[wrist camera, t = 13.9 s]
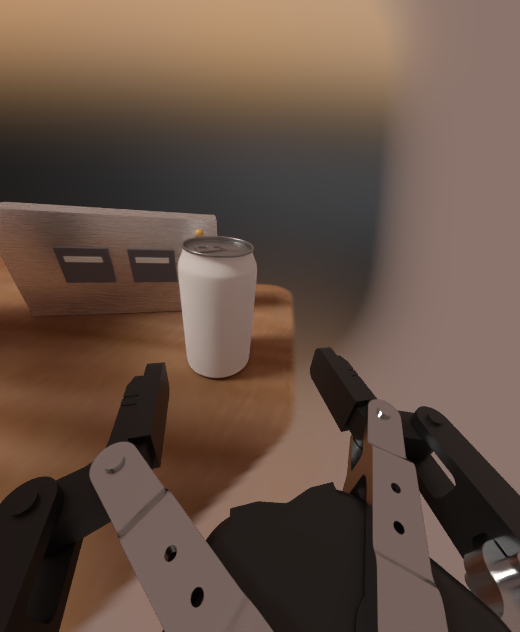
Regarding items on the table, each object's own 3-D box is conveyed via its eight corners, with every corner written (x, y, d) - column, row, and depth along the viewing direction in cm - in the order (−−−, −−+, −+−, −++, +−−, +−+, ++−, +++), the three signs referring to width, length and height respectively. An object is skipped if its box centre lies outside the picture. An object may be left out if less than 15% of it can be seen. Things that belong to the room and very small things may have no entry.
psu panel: (30, 318, 26) (-31, 207, 20) (51, 300, 30) (5, 201, 24) (217, 311, 32) (216, 221, 25) (215, 296, 35) (214, 215, 29)
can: (259, 369, 23) (274, 254, 17) (197, 390, 20) (186, 260, 14) (234, 333, 28) (239, 233, 21) (181, 346, 25) (167, 235, 18)
